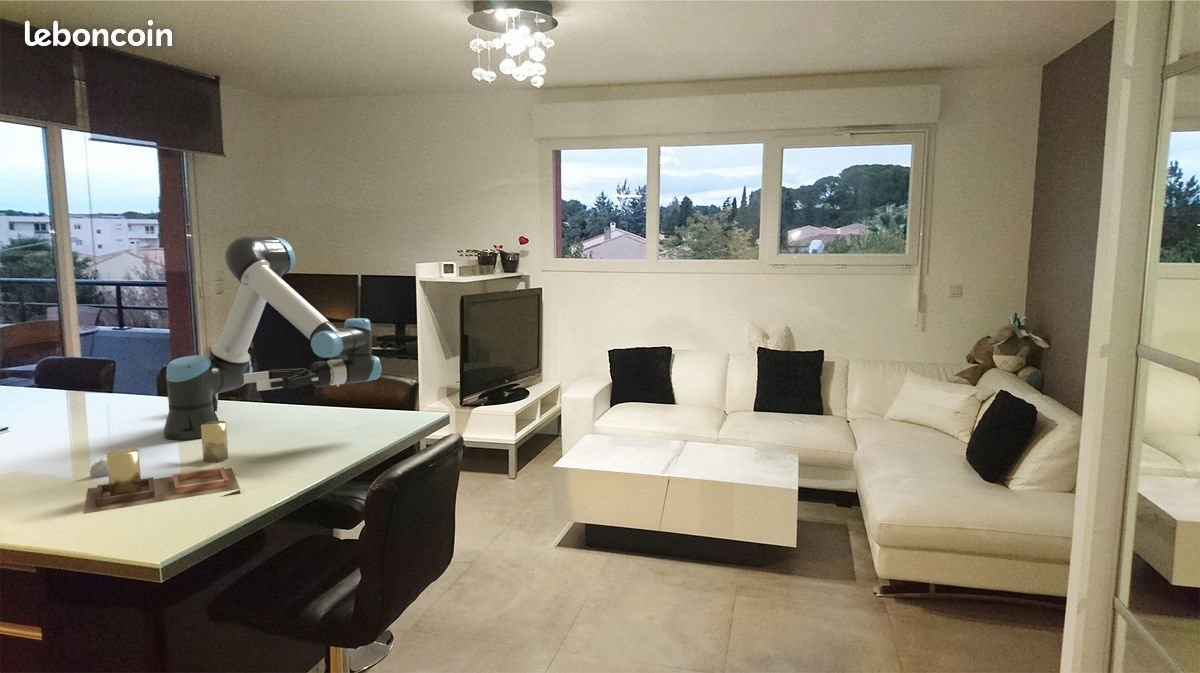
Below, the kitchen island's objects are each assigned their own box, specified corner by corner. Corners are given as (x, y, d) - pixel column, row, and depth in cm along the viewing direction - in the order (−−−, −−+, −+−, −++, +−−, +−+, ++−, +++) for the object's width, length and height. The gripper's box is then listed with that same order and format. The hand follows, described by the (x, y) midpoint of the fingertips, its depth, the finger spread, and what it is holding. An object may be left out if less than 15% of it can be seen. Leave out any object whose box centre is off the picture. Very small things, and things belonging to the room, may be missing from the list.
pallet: (83, 519, 150) (82, 506, 150) (88, 493, 165) (87, 482, 165) (240, 493, 167) (239, 482, 166) (231, 472, 182) (231, 462, 181)
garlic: (103, 483, 172) (101, 463, 171) (84, 482, 173) (82, 461, 172) (123, 475, 178) (122, 455, 177) (105, 474, 179) (103, 454, 178)
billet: (104, 496, 160) (100, 453, 159) (131, 488, 166) (128, 447, 164) (120, 500, 158) (117, 457, 156) (147, 492, 163) (144, 450, 162)
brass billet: (198, 460, 191) (195, 424, 189) (218, 454, 196) (216, 419, 195) (213, 464, 188) (211, 427, 187) (233, 458, 193) (231, 422, 192)
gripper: (343, 392, 200) (263, 403, 187) (314, 379, 219) (239, 388, 206) (342, 366, 199) (261, 375, 186) (313, 355, 218) (238, 363, 205)
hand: (250, 382), depth 196 cm, fingers open, 13 cm apart
